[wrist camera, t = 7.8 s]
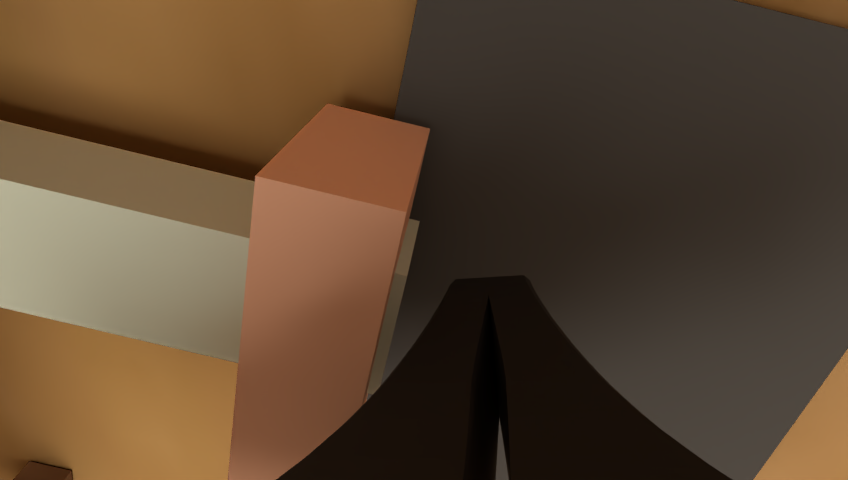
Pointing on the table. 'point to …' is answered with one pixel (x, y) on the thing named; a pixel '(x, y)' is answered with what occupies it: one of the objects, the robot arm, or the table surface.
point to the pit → (643, 197)
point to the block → (227, 263)
